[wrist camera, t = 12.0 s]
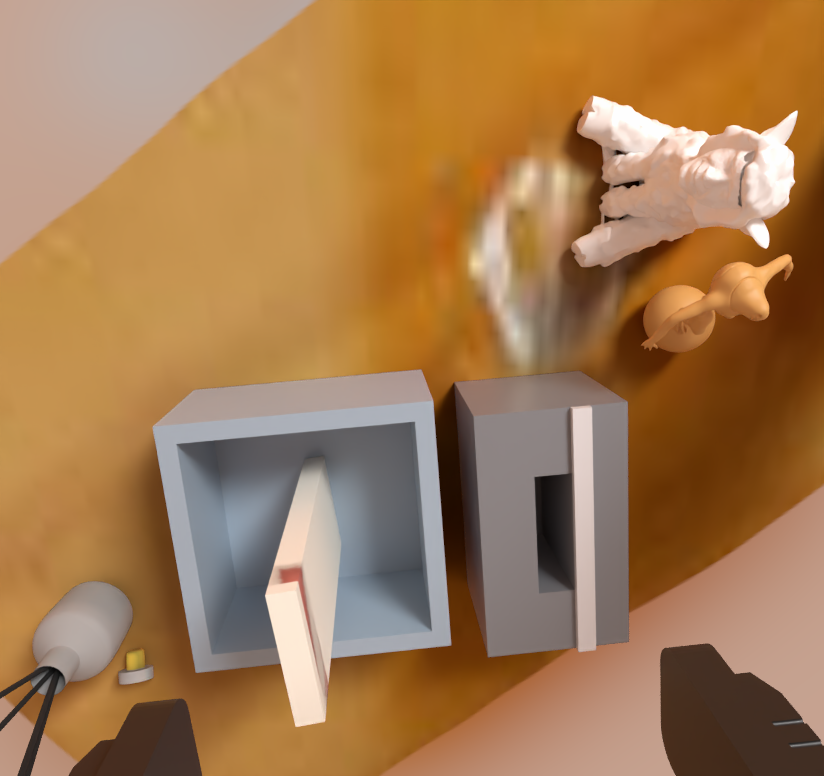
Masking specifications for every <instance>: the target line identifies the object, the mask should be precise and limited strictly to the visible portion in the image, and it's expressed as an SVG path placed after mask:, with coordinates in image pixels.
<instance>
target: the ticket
mask: <svg viewBox="0 0 824 776" xmlns="http://www.w3.org/2000/svg"><path fill="white" fill-rule="evenodd" d="M340 554H341V539H340V534H339V529H338V524H337V519H336V514H335V509H334V504H333V499H332V494H331V489H330V484H329V479H328V474H327V469H326V464H325V459H324V456H319V457H313V458H307V459H305V460H304V463H303V467H302V470H301V473H300V477H299V480H298V484H297V487H296V491H295V494H294V498H293V501H292V505H291V508H290V511H289V515H288V518H287V522H286V525H285V529H284V532H283V536H282V539H281V542H280V546H279V549H278V553H277V556H276V560H275V563H274V567H273V570H272V573H271V577H270V580H269V584H268V587H267V591H266V594H265V597H266V602H267V606H268V610H269V614H270V619H271V623H272V627H273V632H274V636H275V640H276V644H277V649H278V653H279V657H280V662H281V666H282V670H283V674H284V679H285V683H286V687H287V692H288V696H289V700H290V704H291V709H292V713H293V717H294V722H295V726H296V727H298V726H304V725H309V724H315V723H321V722H325V717H326V706H327V695H328V684H329V673H330V662H331V651H332V641H333V630H334V619H335V608H336V597H337V586H338V575H339V564H340Z"/></svg>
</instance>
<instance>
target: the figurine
mask: <svg viewBox="0 0 824 776" xmlns="http://www.w3.org/2000/svg"><path fill="white" fill-rule="evenodd" d="M782 269H784V270H786V272H785V277H784V280H785V281H786V280H787V278H788V277H789V275H790V273H791V272H792V270H793V263H792V257H791V256H790V255H788V254H786V255H783V256H780V257H778V258H776V259H775V260H773V261H771V262H769V263H768V264H766V265H765V266H761V267H753V266H752V265H750V264H748V263H745V262H734V263H730V264H727V265H725V266H724V267H722V268H721V269H720V270H719V271H718V272H717V273H716V274H715V276H714V278H713V280H712V282H711V286H710V288H709V292H708V293H707V295H705V294H704V293H703V292H701V291H700V290H698V289H696V288H694V287H690V286H685V285H676V286H671V287H667V288H665V289H663V290H661V291H659V292H658V293H657V294H655V295H654V296H653V297H652V298H651V300H650V301H649V302H648V304H647V306H646V308H645V311H644V316H643V325H644V329H645V332H646V334H647V336H648V337H649V339H648V340H646V341H644V342H643V343H642V344H641V346H645V347H644V349H646V348H647V347H648V348H649V351H651V349H652V347H655V348H656V349H658V347H659V348H661V349H663V350H666V351H670V352H686V351H690V350H693V349H695V348H697V347H698V346H700V345H701V344H703V343H704V342H705V341H706V340H707V339H708V337H709V336H710V334H711V332H712V330H713V328H714V324H715V311H716V312H717V313H718V314H720V315H722V316H724V317H726V318H728V319H731V318H733V317H734V316H737V315H740V314H742V315H744V316H746V317H747V318H749V319H751V320H753V321H761V320H764V319H766V318H767V317H768V315H769V304H768V302H767V300H766V297H765V294H764V290H765V287H766V285H767V283H768V282H769V280H770V279H771V278H772V277H773V276H774V275H775V274H777V273H778V272H780V271H781V270H782ZM714 310H715V311H714ZM657 346H658V347H657Z"/></svg>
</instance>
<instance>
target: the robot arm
mask: <svg viewBox="0 0 824 776" xmlns="http://www.w3.org/2000/svg"><path fill="white" fill-rule="evenodd" d="M660 663H661V664H660V666H661V669H660V670H661V731H662V738H663V742H664V747H665V750H666V754H667V756H668V760H669V762H670V765H671V767H672V769H673V771H674V773H675V775H676V776H824V746H822V744H821V740H820V739H819V737H818V736H817V735H816V734H815V733H814V732H813V730H812V729H811V728H810V727H809V726H808V725H807V724H804V722H803V720H802V718H801V716H800V715H799V714H798V713H797V711H796V710H795V709H794V708H793V707H792V705H790V703H789V702H788V701H787V699H786V698H785V697H784V696H783V695H782V693H780V692H779V691H777V690H776V689H774V688H773V687H771V686H770V685H768V684H767V683H765V682H764V681H762V680H761V679H759V678H758V677H756V676H755V675H753V674H752V673H750V672H749V673H740V674H734V673H733V671H732V670H731V669H730V667H729V666H728V665H727V664H726V662H725V661H724V660H723V658H722V657H721V656H720V654H719V653H718V652H717V651H716V650H715V648H714V647H713V646H712V645H710V644H699V645H689V646H680V647H671V648H664V649H663V650H662V653H661V659H660ZM69 776H202V773H201V767H200V763H199V758H198V753H197V748H196V743H195V739H194V734H193V729H192V724H191V719H190V715H189V710H188V706H187V704H186V702H185V700H183V699H172V700H163V701H154V702H145V703H137V704H135V705H134V706H133V707H132V709H131V711H130V712H129V714H128V716H127V718H126V720H125V722H124V724H123V726H122V727H121V729H120V731H119V733H118V735H117V737H116V739H113V740H104V741H100V742H99V743H98V744H97V745H96V746H95V747H94V748H93V749H92V750H91V751H90V752H89V753H88V754H87V755H86V756H85V757H84V758H83V759H82V760H81V761H80V762H78V763H77V764H76V765H75V766H74V767H73V769H72V771H71V772H70V774H69Z"/></svg>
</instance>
